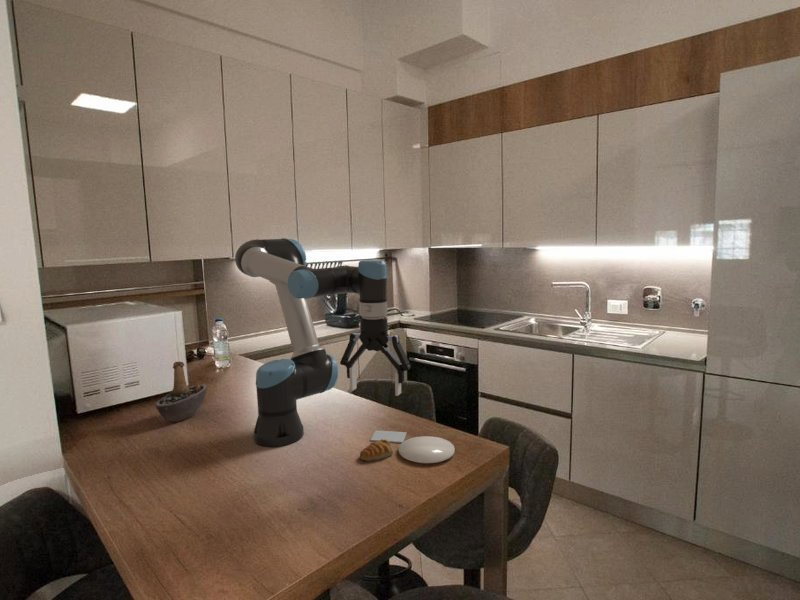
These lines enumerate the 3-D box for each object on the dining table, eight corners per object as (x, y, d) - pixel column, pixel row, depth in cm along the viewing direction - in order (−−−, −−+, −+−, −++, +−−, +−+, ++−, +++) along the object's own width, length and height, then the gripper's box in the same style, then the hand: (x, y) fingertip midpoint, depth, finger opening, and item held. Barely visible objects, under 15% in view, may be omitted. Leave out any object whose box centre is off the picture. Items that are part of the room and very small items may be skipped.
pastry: (368, 466, 129) (368, 452, 129) (354, 457, 135) (354, 444, 134) (395, 455, 135) (395, 442, 135) (380, 447, 140) (380, 435, 140)
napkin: (370, 441, 144) (370, 439, 144) (375, 431, 151) (375, 430, 151) (402, 443, 143) (402, 441, 142) (406, 433, 149) (406, 432, 149)
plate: (390, 460, 132) (390, 456, 132) (409, 437, 147) (409, 433, 146) (446, 469, 126) (446, 465, 126) (460, 444, 141) (460, 440, 141)
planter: (208, 406, 176) (204, 354, 173) (205, 423, 160) (200, 365, 158) (164, 412, 171) (159, 358, 169) (156, 430, 156) (151, 370, 153)
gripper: (326, 317, 131) (329, 391, 134) (412, 321, 122) (413, 400, 125) (338, 312, 138) (341, 383, 141) (421, 316, 129) (422, 391, 132)
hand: (375, 391), depth 133 cm, fingers open, 13 cm apart
